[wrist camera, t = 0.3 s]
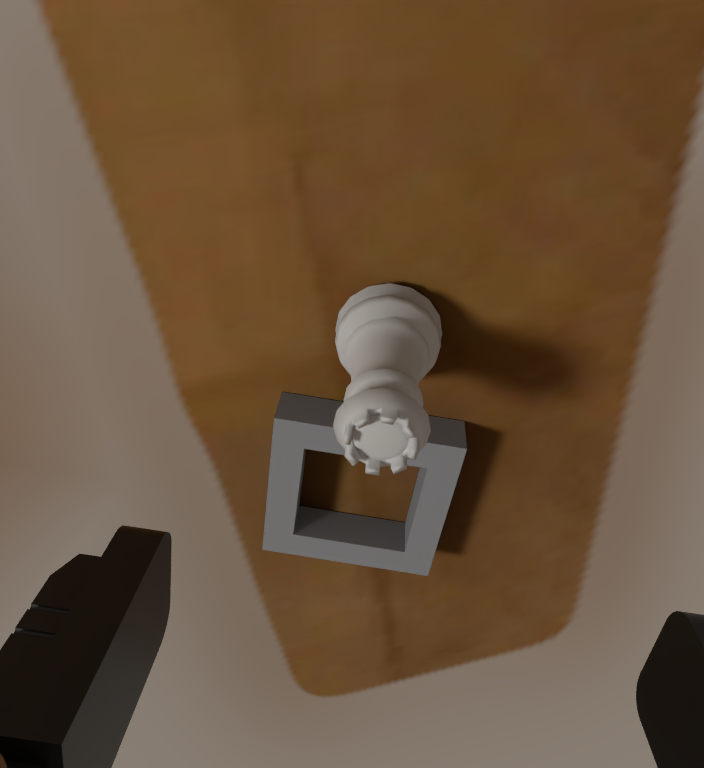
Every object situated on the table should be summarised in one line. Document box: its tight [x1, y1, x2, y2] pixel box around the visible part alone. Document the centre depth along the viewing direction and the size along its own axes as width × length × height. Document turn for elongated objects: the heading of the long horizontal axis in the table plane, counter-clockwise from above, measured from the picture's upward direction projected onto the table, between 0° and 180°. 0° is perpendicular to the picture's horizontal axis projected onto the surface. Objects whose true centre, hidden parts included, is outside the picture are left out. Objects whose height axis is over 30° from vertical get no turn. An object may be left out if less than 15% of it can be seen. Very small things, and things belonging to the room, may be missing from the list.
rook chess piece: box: [333, 283, 442, 476], centre depth 25 cm, size 4×4×8 cm
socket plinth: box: [262, 392, 467, 576], centre depth 32 cm, size 8×8×2 cm
